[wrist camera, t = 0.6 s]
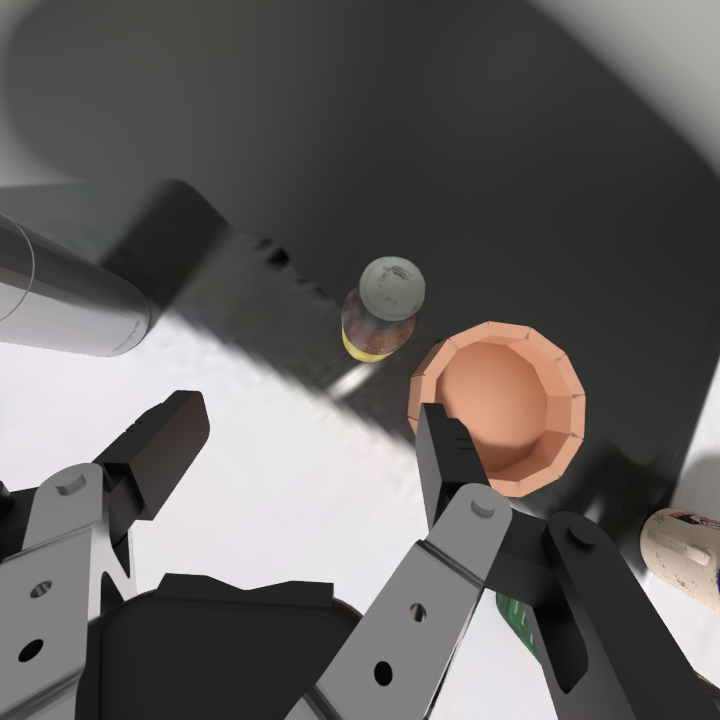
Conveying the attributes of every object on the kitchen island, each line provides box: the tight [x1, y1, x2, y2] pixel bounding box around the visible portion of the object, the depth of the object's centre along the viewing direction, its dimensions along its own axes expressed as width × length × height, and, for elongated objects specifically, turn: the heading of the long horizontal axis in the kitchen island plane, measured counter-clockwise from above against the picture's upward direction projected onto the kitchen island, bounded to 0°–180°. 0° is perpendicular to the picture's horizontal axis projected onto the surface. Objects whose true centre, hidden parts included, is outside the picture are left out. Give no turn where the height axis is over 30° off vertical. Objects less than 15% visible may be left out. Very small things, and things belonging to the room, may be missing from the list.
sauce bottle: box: [342, 256, 426, 362], centre depth 28 cm, size 6×6×20 cm
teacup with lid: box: [640, 508, 720, 613], centre depth 33 cm, size 12×9×12 cm
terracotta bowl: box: [408, 321, 585, 497], centre depth 36 cm, size 18×18×5 cm
